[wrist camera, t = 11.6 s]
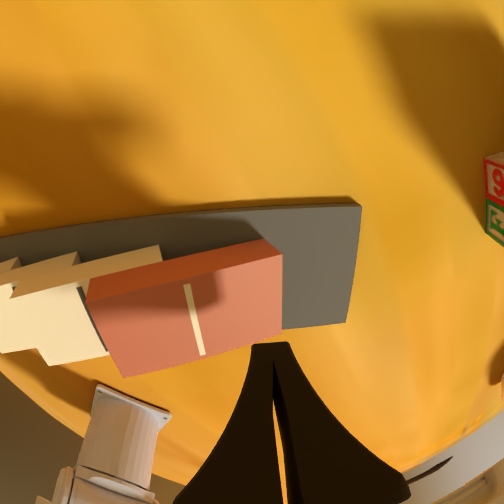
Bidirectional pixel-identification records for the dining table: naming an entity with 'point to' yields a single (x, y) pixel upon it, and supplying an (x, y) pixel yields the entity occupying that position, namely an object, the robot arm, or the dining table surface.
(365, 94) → the dining table surface
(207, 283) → the red domino
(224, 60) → the dining table surface
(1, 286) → the ivory domino
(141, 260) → the ivory domino
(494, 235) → the stack of blocks
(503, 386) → the cup
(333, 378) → the dining table surface
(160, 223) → the domino mat
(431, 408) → the dining table surface
